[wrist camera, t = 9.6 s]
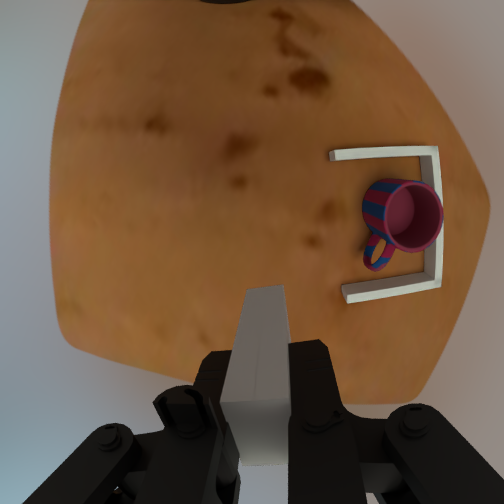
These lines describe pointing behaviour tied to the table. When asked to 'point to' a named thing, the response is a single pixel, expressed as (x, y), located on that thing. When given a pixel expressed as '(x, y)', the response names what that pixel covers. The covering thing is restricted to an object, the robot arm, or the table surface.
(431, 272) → the white u-shaped frame
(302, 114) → the table surface
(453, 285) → the table surface
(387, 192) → the mug
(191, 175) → the table surface
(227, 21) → the table surface
